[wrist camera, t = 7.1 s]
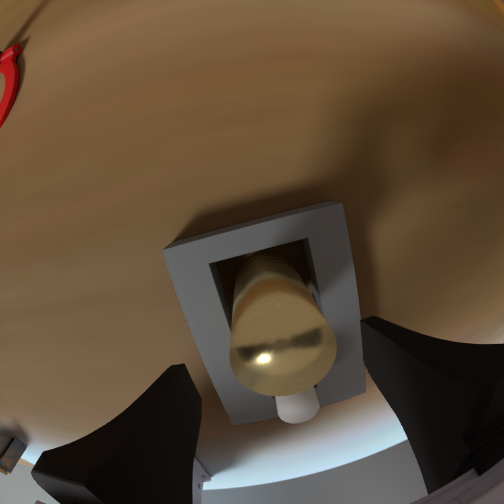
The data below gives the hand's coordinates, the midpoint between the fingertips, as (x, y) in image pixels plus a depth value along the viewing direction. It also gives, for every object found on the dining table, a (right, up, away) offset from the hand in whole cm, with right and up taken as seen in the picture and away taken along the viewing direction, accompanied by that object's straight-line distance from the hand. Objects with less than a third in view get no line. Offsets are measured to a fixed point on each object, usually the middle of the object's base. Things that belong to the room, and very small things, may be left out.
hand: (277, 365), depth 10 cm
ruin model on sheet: (-45, -29, +16) cm, 56 cm away
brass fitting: (0, +2, +9) cm, 9 cm away
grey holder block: (+1, -1, +10) cm, 10 cm away
